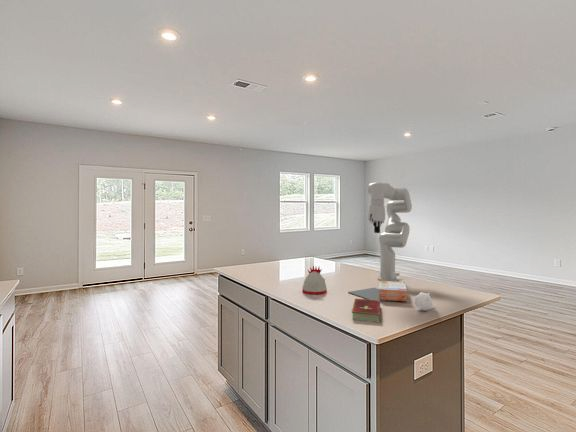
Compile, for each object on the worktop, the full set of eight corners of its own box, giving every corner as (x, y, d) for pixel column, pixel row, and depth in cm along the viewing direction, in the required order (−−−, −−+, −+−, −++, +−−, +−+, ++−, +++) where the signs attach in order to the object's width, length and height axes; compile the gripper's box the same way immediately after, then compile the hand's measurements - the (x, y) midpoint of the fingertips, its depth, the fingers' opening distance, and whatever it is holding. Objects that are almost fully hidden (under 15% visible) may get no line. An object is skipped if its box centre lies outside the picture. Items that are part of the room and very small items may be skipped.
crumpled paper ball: (421, 286, 160) (421, 291, 149) (441, 300, 156) (442, 306, 146) (411, 300, 162) (410, 305, 151) (430, 313, 158) (430, 320, 147)
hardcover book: (380, 308, 157) (380, 299, 156) (380, 323, 136) (380, 313, 136) (354, 306, 160) (355, 297, 160) (351, 320, 140) (351, 311, 140)
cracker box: (379, 290, 187) (378, 300, 167) (379, 280, 187) (378, 288, 167) (404, 292, 183) (407, 302, 163) (404, 281, 183) (407, 290, 163)
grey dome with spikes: (325, 295, 178) (325, 268, 177) (300, 294, 181) (300, 267, 180) (327, 289, 191) (327, 264, 191) (304, 288, 194) (304, 263, 194)
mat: (374, 288, 193) (374, 287, 193) (403, 297, 174) (403, 296, 174) (348, 292, 183) (348, 291, 183) (376, 302, 164) (376, 301, 164)
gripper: (381, 203, 204) (381, 231, 204) (363, 202, 196) (363, 232, 197) (390, 202, 197) (390, 232, 198) (372, 202, 190) (372, 233, 190)
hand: (377, 232), depth 197 cm, fingers closed
